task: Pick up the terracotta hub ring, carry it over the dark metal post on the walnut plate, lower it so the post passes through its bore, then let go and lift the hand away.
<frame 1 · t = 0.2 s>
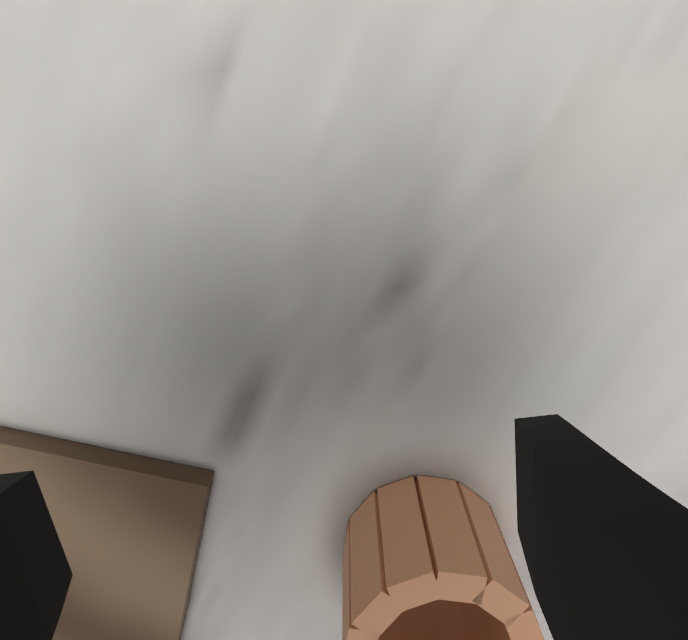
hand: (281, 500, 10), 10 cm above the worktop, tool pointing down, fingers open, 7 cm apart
holder: (10, 590, 22), on the worktop
hub: (422, 547, 22), on the worktop
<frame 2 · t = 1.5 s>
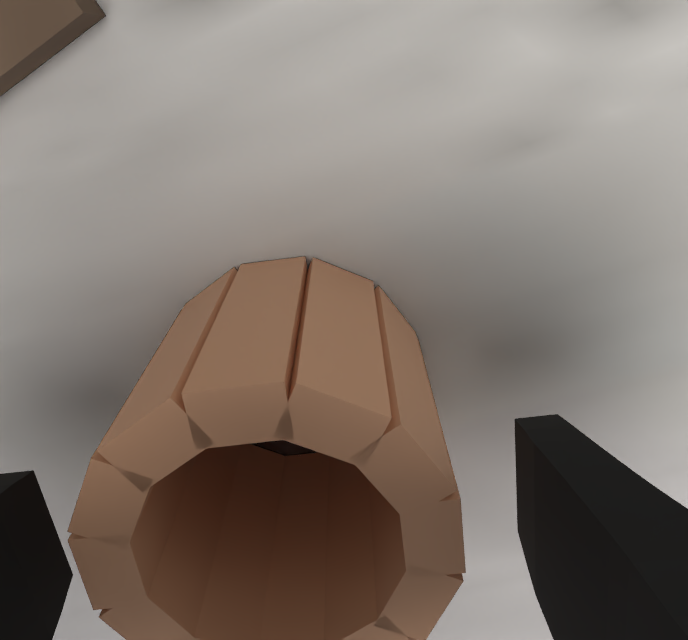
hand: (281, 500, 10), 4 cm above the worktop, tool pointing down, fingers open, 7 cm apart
hub: (294, 380, 13), on the worktop
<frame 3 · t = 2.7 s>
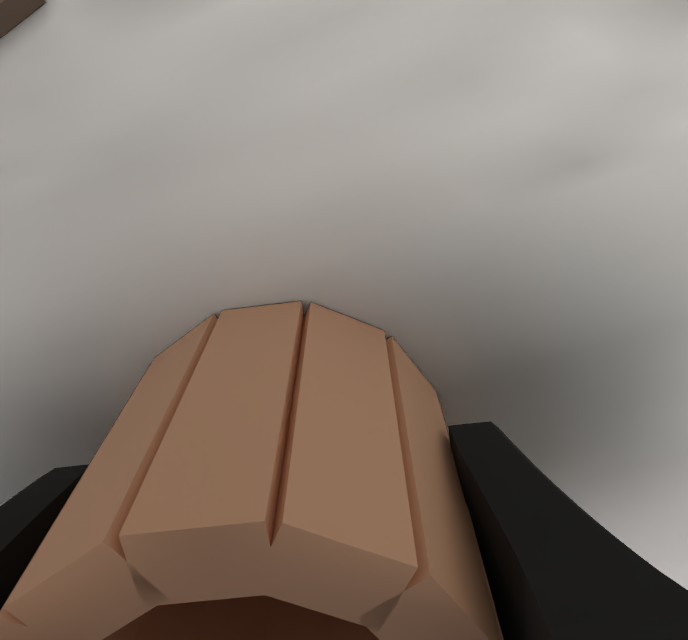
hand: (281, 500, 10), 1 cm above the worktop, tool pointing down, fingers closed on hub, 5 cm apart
hub: (288, 446, 11), on the worktop, touching gripper
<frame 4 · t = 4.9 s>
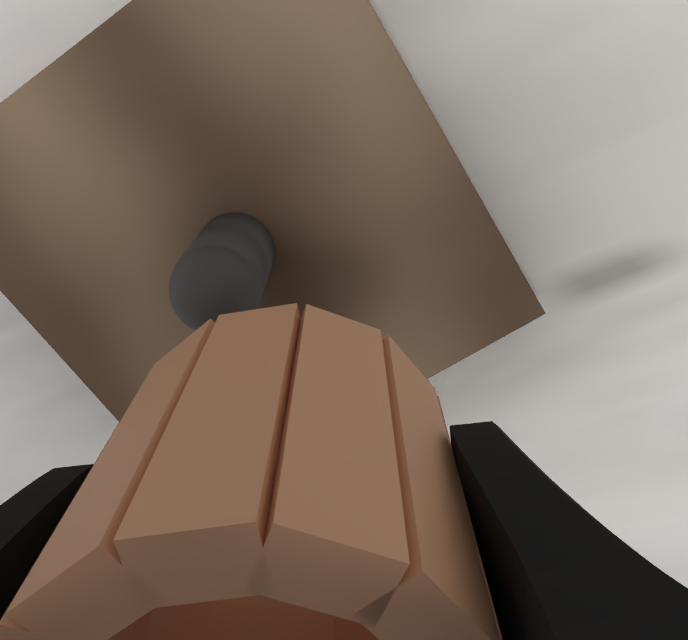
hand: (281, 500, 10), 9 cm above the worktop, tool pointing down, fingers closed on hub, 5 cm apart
holder: (242, 239, 18), on the worktop
hub: (290, 448, 11), point 8 cm above the worktop, touching gripper
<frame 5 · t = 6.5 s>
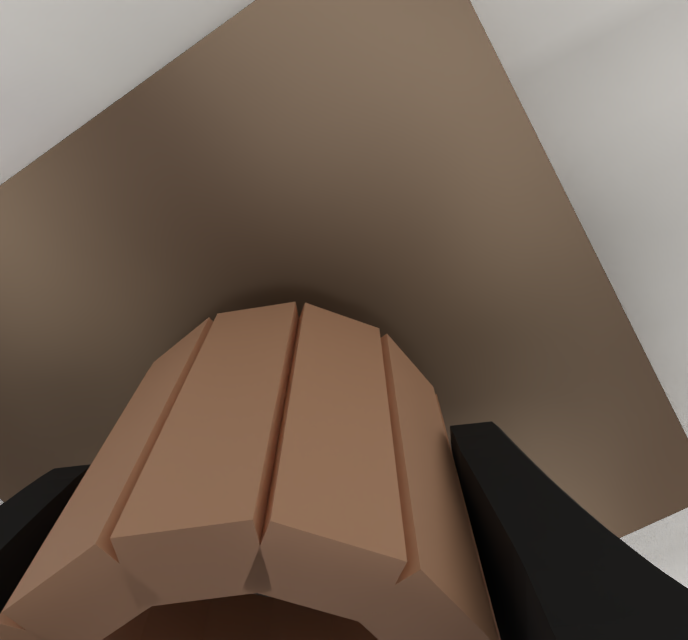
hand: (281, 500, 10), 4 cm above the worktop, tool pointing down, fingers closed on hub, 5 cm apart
holder: (296, 386, 13), on the worktop
hub: (288, 447, 11), point 2 cm above the worktop, touching gripper
when the fingers open (3 cm above the worktop, at t = 7.5 s): hub stays where it is, resting on holder.
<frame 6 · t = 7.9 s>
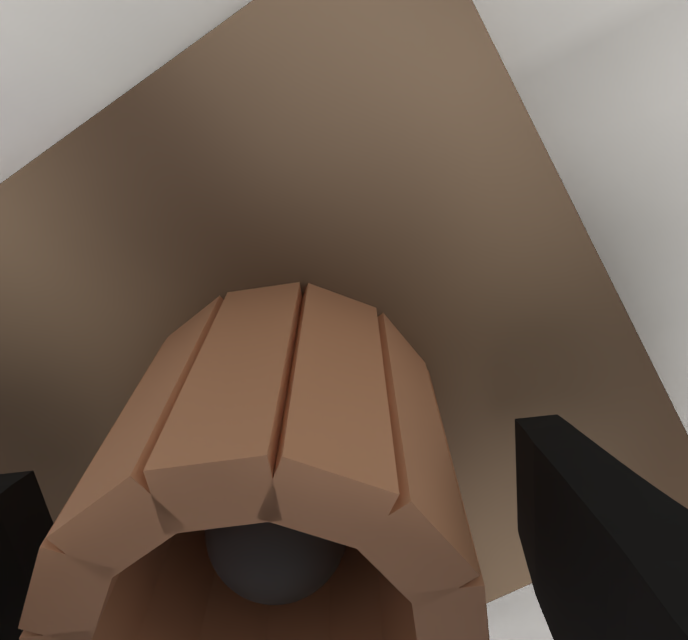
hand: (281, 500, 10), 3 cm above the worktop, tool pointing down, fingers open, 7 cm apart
holder: (296, 389, 13), on the worktop
hub: (291, 418, 12), point 1 cm above the worktop, touching holder
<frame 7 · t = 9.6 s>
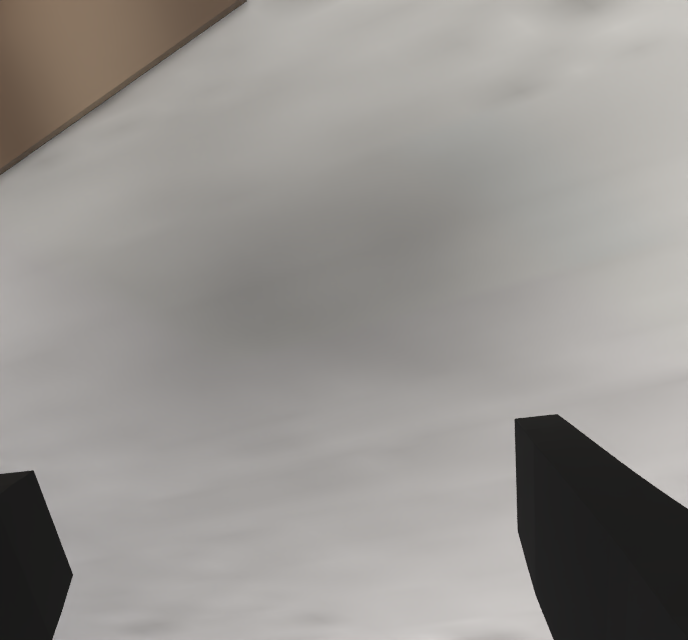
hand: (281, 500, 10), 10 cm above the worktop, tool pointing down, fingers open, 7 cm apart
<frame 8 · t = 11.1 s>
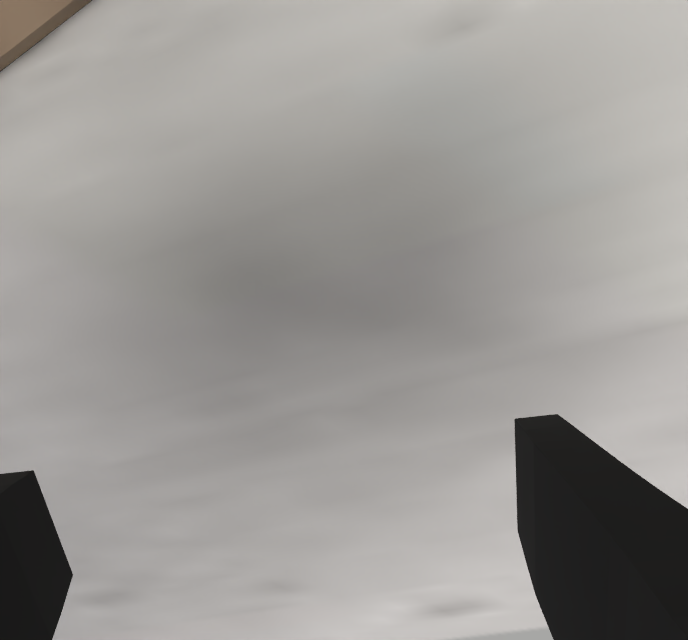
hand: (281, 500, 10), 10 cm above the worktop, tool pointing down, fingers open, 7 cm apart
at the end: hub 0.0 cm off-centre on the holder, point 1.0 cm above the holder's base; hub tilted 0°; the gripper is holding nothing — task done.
